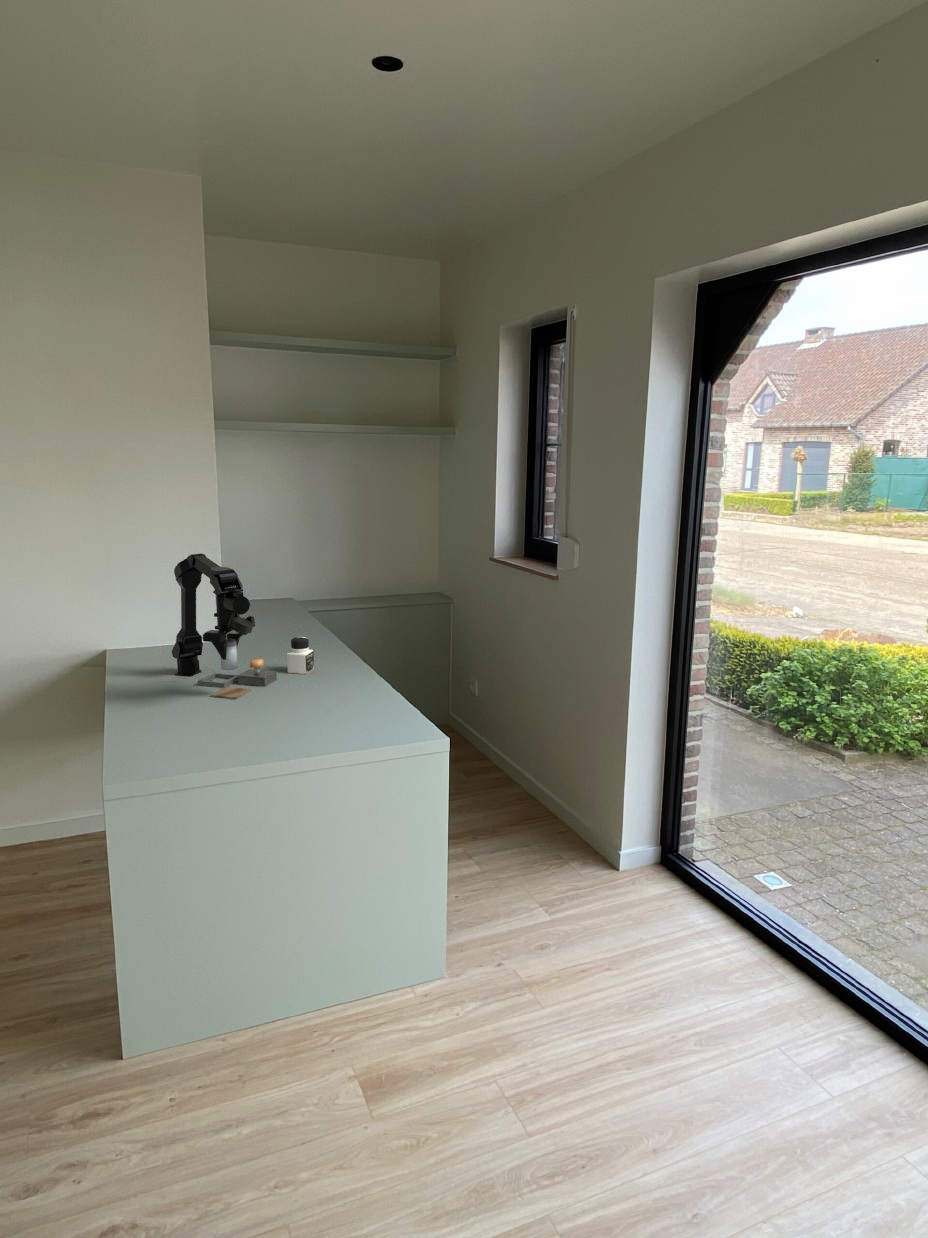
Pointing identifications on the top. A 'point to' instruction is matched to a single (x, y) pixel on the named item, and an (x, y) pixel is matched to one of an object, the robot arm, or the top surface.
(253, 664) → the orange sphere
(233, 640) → the cylinder
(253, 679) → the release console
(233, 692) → the walnut pad
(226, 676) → the collar
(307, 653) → the medicine bottle
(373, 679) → the top surface
